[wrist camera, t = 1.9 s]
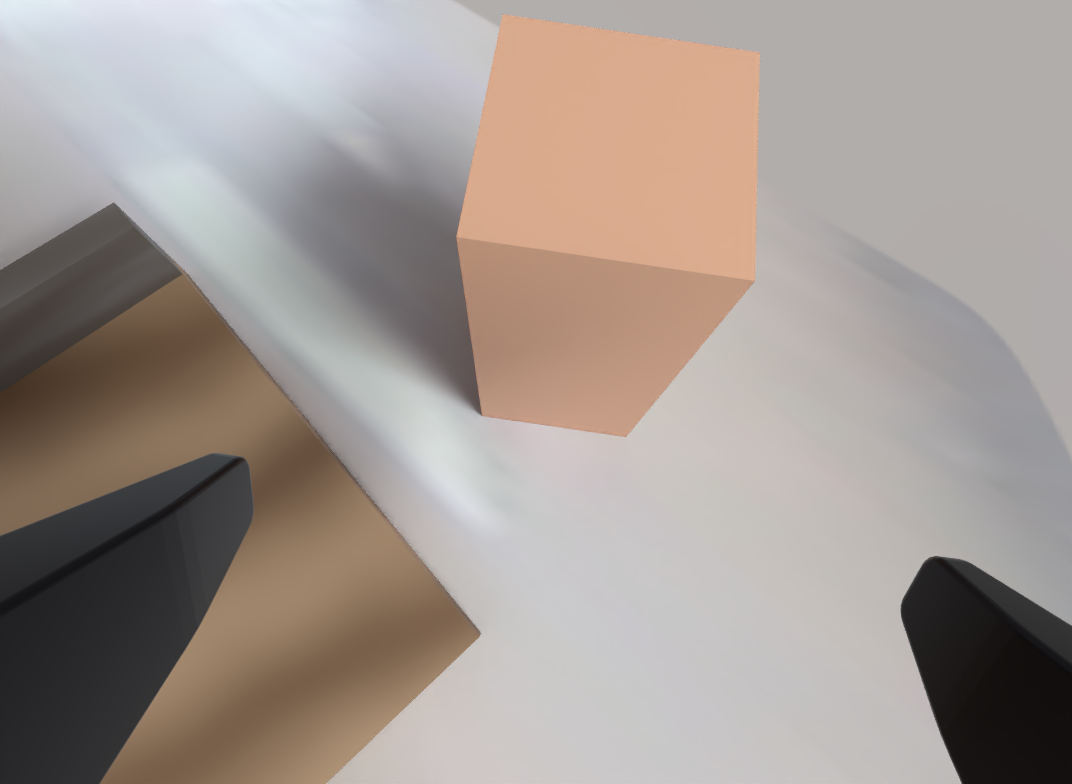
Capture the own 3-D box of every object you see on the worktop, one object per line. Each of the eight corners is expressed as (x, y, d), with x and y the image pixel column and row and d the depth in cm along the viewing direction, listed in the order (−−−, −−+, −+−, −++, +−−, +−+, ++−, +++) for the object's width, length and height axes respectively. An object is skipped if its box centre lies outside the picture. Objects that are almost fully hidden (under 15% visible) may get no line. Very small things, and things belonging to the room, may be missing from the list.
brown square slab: (481, 633, 20) (474, 647, 15) (-45, 1134, 15) (-260, 1350, 11) (180, 265, 23) (107, 194, 19) (-313, 584, 19) (-553, 585, 15)
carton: (481, 415, 22) (456, 236, 11) (505, 282, 24) (504, 7, 12) (626, 437, 22) (755, 281, 11) (638, 302, 24) (760, 45, 12)
